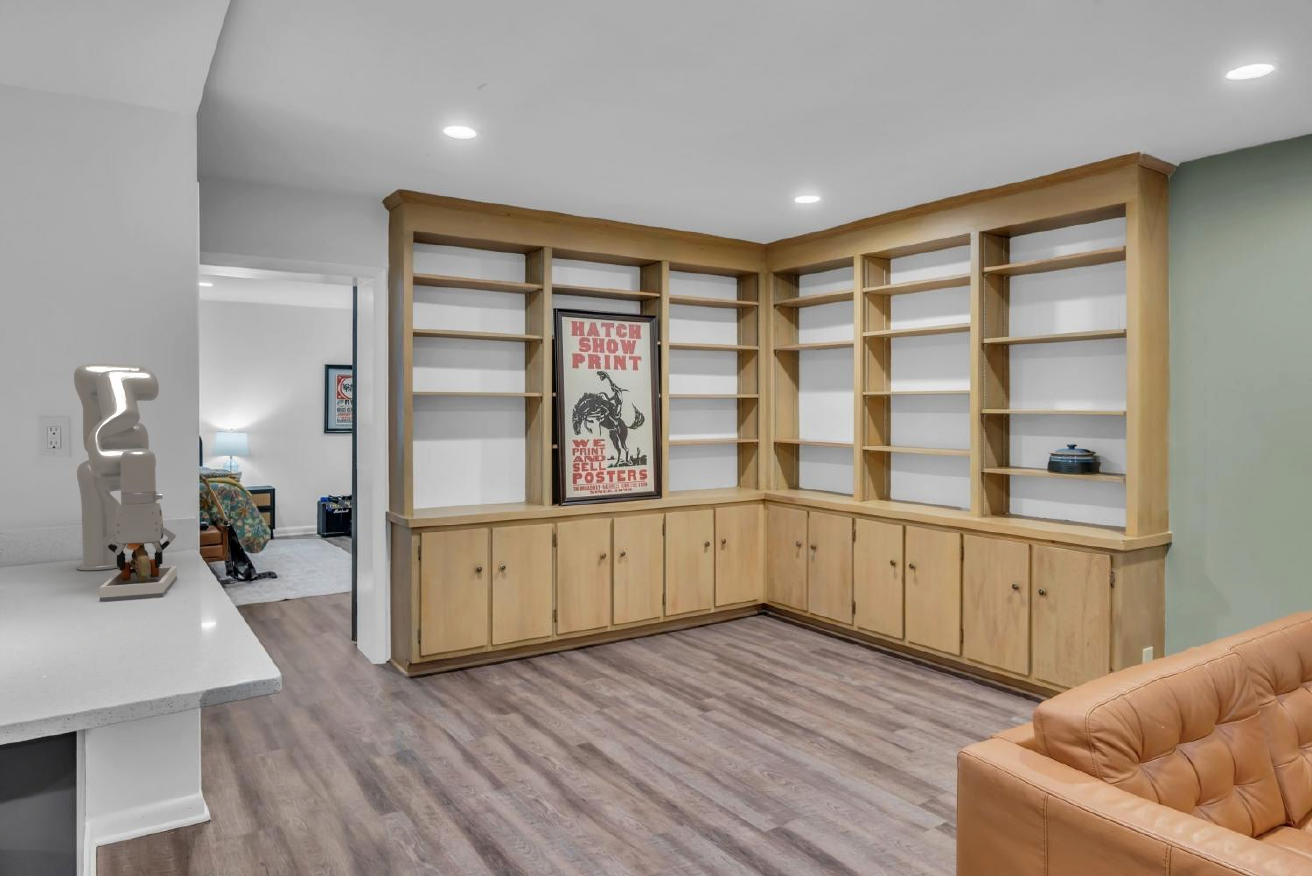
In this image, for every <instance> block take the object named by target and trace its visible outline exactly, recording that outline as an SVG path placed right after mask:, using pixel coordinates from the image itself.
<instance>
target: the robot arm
mask: <svg viewBox="0 0 1312 876" xmlns="http://www.w3.org/2000/svg"><path fill="white" fill-rule="evenodd" d="M73 383H74V387H75V391H76V393H77V395H78V397H79V400H80V402H81V407H82V441H83V442H82V443H83V447H84V448H83V449H84V450H85V451H86V452H87V456H88V460H85V461H83V462H81V463H80V464H78V466H77V470H76V477H77V483H78V488H79V492H80V493H79V495H80V501H81V503H80V504H81V532H82V533H81V534H82V535H81V537H82V540H81V541H82V562H81V563H78V564H77V565H76V569H77V570H79V571H102V570H103V571H104V570H113V569H118V568H119V571H122V570H124V569H125V562H129V563H130V561H129V559H126V553H125V551H124V549H125V548H126V546H127V545H128V544H144V545H145V544H152V546H153V548H154V549H155V552H154V559H155V568H159V567H161V565H162V564H163V560H164V558H163V551H165V549H166V548H167V547H168V546H169V545H170V544H171V543H172V542H173V541H174V540H175V539H176V537H177V535H176V534H175V533H173V532H172V531H170V530H169V529H167V528H166V527H164V520H163V512H162V508H161V503H160V502H157V501H158V500H162V499H163V493H158V492H157V491H156V490H157V487H156V486H157V485H156V484H157V483H156V482H157V481H156V466H157V465H156V464H157V460H156V456H155V453H154V452H153V451H151V450H150V449H149V448H150V447H149V446H150V445H149V444H150V443H149V433H148V430H147V428H146V426H145V424H143V423H141V422H140V419H141V416H140V415H141V414H140V411H139V407H138V401H141V402H143V401H144V402H145V401H146V402H147V401H148V402H149V401H155V399H157V398H158V395H159V390H160V388H159V385H160V384H159V381H158V378H157V376H156V375H155V373H154V372H153V371H152V370H150V369H148V368H147V367H145V366H142V365H133V364H131V365H128V364H110V363H109V364H105V363H104V364H103V363H96V364H95V363H92V364H82V365H80V366H78V367H76V369H75V370H74V372H73ZM116 491H120V502H119V500H117V499H116V497H114V496H113V495H112V494H111V492H116ZM164 536H166V537H167V538H166V540H165V541H164V542H163V543H162V542H161V540H162V539H163V538H164Z"/></svg>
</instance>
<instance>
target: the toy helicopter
mask: <svg viewBox="0 0 1312 876" xmlns="http://www.w3.org/2000/svg"><path fill="white" fill-rule="evenodd" d="M125 548H126V550H130V551H132V553H131V559H130V561H129V562H125V569H124V570H122V571H121V578H122V581H128V580H130V579H131V573H136V576H137V578H138V582H139V583H144V582H147V581H148V579H147V576H149V575H150V577H151V578H154V577H158V576H159V568H155V558H153V559H152V558H150V556H149V552H148V551H147V550H146V546H145V544H127V545H126V546H125Z"/></svg>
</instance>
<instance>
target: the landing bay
mask: <svg viewBox="0 0 1312 876" xmlns="http://www.w3.org/2000/svg"><path fill="white" fill-rule="evenodd" d="M177 572H178V568H177V565H175V566H174V565H173V566H160V567H159V576H158V577H154V578H151V577H150V575H149V576H147V579H148V581H147V582H144V583H139V582H138V578H137V576H136V573H131V579H130V580H128V581H122V578H121V571H120V570H118V572H116V573H115V574H114V575H112V576H111V577H110V578H109V579H107V580H106V581H105V582H104V583H102V585H100V586H99V588H98V589H99V590H98V591H99V602H100V601H105V602H115V601H126V600H127V601H128V600H139V599H140V600H141V599H142V598H143V599H153V598H152V597H155V598H162V597H161V596H163V595H164V594H165V593H166V594H167V592H168V591H169V590H170V588H171V587H172V586H173V585H174V584H175V582H176V581H177V580H176V579H178V573H177ZM175 580H176V581H175ZM174 581H175V582H174ZM172 584H173V585H172ZM169 587H170V588H169ZM168 589H169V590H168ZM167 590H168V591H167ZM166 594H165V595H166ZM165 595H164V596H165ZM164 596H163V597H164Z"/></svg>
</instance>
